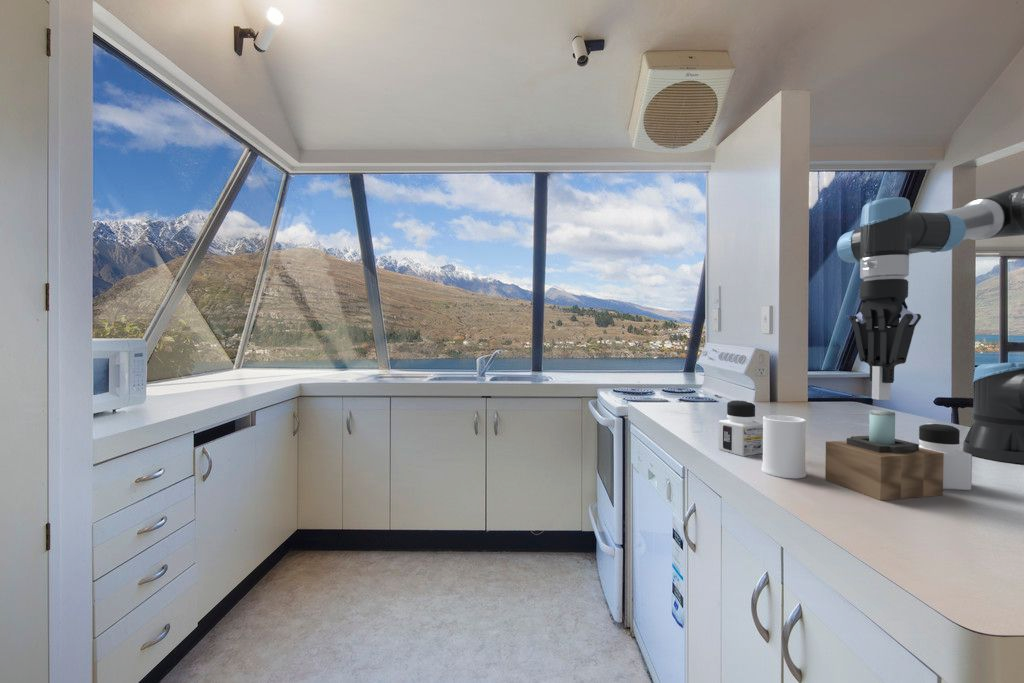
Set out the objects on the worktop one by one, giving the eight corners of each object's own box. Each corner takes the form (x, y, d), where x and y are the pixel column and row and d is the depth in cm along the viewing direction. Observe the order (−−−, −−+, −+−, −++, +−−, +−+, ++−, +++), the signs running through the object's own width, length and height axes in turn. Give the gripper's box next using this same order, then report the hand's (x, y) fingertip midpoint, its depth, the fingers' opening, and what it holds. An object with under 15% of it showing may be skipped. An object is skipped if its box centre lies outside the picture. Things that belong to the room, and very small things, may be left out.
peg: (880, 452, 95) (881, 409, 95) (900, 457, 91) (900, 413, 91) (863, 453, 94) (864, 410, 94) (882, 458, 90) (883, 414, 90)
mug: (763, 461, 111) (764, 411, 111) (806, 467, 107) (806, 414, 106) (760, 474, 101) (760, 419, 101) (806, 481, 96) (807, 423, 96)
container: (742, 456, 115) (743, 404, 115) (717, 449, 123) (718, 400, 122) (764, 453, 119) (765, 402, 118) (738, 446, 126) (739, 398, 125)
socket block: (881, 475, 100) (882, 433, 100) (942, 495, 88) (943, 446, 88) (825, 479, 97) (825, 435, 97) (880, 500, 85) (880, 450, 85)
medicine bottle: (972, 490, 90) (973, 429, 90) (929, 488, 92) (930, 427, 91) (946, 479, 97) (947, 422, 97) (906, 477, 99) (907, 421, 98)
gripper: (838, 282, 98) (836, 395, 98) (900, 275, 85) (897, 404, 85) (868, 283, 99) (866, 394, 99) (934, 276, 86) (931, 403, 86)
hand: (881, 399), depth 92 cm, fingers closed
